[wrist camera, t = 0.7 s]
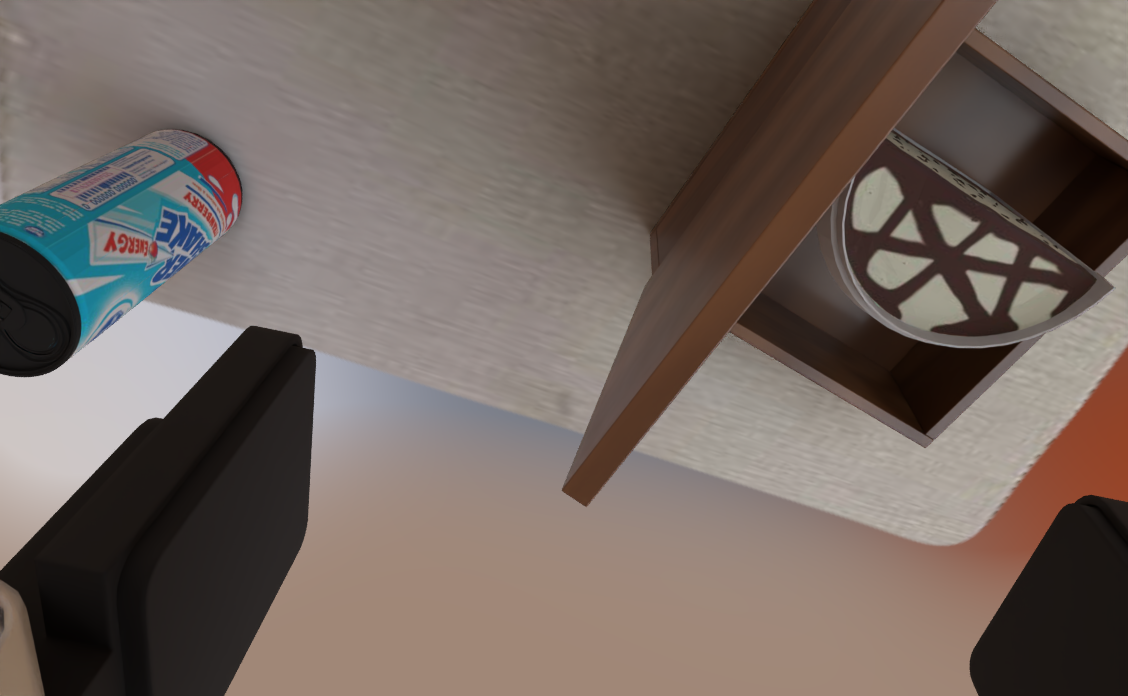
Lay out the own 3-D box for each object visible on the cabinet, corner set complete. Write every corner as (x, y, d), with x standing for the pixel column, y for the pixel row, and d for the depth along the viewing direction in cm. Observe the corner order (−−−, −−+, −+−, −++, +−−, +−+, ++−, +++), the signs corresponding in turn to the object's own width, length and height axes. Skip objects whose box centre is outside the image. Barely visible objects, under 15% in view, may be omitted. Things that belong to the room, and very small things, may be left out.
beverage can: (193, 255, 44) (8, 402, 31) (112, 164, 42) (-123, 282, 29) (271, 200, 43) (110, 332, 29) (190, 102, 40) (-23, 197, 27)
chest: (1110, 146, 38) (1195, 190, 32) (887, 378, 45) (925, 448, 39) (845, -46, 35) (887, -37, 29) (649, 233, 42) (652, 286, 36)
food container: (730, 184, 40) (758, 264, 31) (810, 72, 37) (865, 124, 28) (927, 305, 42) (1005, 410, 33) (1016, 207, 39) (1126, 294, 31)
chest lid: (1044, -57, 14) (1007, -84, 14) (586, 508, 21) (560, 490, 21) (900, -30, 29) (882, -43, 29) (660, 295, 36) (644, 285, 36)
